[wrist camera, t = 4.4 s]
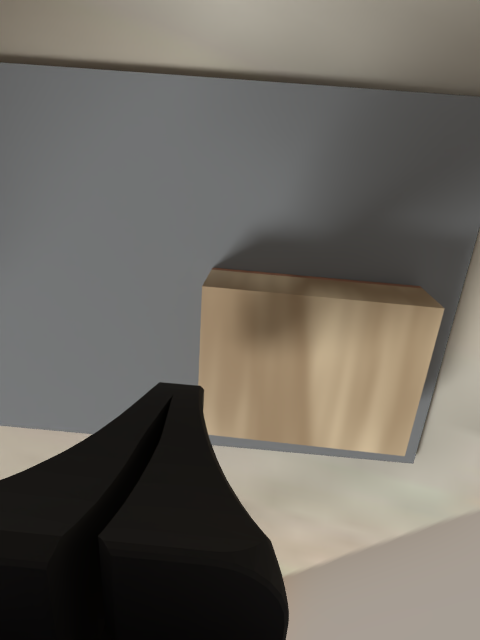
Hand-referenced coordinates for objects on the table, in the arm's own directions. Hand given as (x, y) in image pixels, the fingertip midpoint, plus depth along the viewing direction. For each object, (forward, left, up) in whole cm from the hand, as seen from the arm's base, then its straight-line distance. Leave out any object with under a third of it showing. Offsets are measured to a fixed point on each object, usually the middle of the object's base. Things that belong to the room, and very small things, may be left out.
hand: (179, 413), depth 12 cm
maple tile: (0, 0, -4) cm, 4 cm away
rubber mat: (0, +2, -6) cm, 6 cm away
